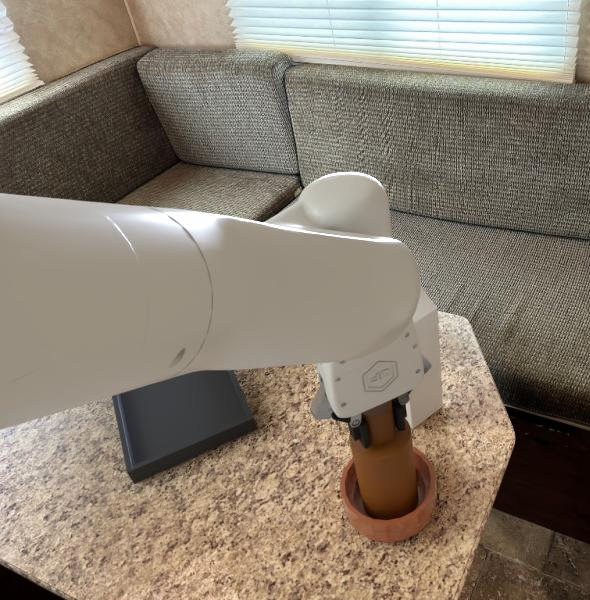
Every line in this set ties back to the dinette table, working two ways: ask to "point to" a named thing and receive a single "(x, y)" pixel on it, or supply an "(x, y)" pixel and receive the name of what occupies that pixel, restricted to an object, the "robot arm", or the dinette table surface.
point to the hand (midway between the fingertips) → (379, 429)
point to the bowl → (398, 526)
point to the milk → (430, 389)
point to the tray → (180, 420)
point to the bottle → (386, 466)
